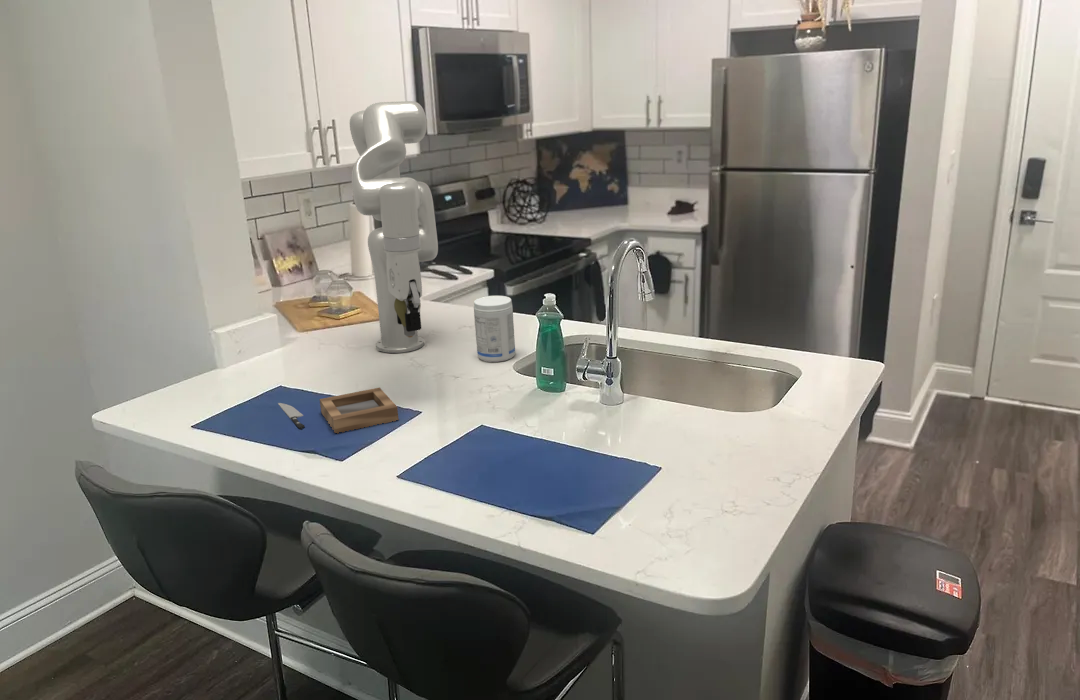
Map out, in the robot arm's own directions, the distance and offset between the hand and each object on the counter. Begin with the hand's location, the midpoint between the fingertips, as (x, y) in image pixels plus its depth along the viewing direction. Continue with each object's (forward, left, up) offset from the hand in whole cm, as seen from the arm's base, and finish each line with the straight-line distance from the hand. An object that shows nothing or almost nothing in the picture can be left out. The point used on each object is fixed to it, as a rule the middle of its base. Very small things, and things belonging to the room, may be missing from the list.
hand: (409, 325), depth 174 cm
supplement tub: (-15, +26, -16) cm, 34 cm away
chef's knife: (-4, -26, -17) cm, 31 cm away
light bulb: (0, 0, -3) cm, 3 cm away
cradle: (+5, -14, -16) cm, 22 cm away
